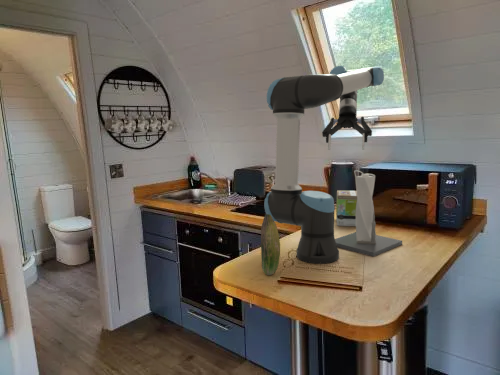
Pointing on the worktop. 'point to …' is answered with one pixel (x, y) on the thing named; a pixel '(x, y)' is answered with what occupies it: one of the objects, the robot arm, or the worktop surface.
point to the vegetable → (269, 245)
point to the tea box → (346, 208)
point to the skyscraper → (365, 209)
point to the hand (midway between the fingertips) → (346, 147)
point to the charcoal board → (368, 249)
